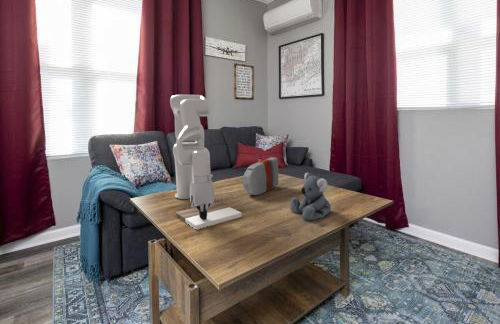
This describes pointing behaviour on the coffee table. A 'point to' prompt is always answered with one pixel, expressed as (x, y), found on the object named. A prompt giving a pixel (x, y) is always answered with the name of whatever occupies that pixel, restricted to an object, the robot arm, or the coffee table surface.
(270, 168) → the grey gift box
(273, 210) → the coffee table surface
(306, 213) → the koala plush
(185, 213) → the walnut plank
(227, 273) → the coffee table surface
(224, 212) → the off-white plank
